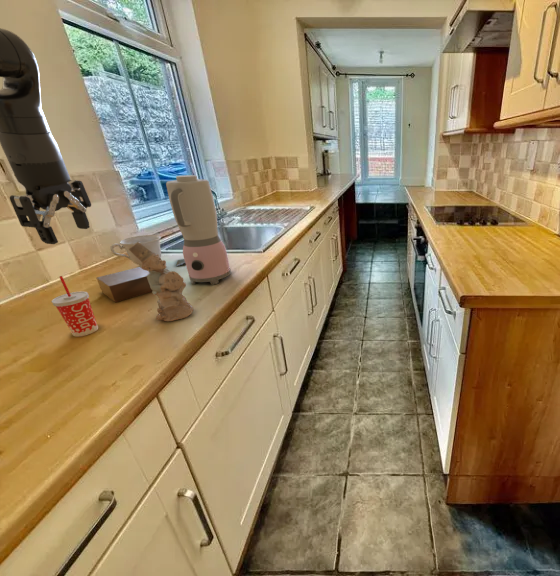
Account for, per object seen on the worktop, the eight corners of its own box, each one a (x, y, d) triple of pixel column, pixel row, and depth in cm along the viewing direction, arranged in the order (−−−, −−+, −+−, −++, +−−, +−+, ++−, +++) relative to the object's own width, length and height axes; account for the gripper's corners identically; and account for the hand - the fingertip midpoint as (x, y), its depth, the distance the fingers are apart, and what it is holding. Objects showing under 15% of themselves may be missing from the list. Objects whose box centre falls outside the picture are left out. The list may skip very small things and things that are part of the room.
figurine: (146, 322, 79) (118, 244, 71) (172, 306, 86) (149, 234, 78) (179, 324, 78) (154, 245, 69) (202, 308, 85) (182, 235, 77)
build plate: (176, 266, 115) (172, 254, 113) (178, 261, 121) (174, 249, 119) (214, 261, 120) (211, 249, 118) (214, 255, 126) (211, 244, 124)
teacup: (117, 267, 115) (107, 240, 110) (165, 258, 124) (157, 233, 120) (120, 276, 106) (110, 248, 102) (171, 266, 116) (163, 239, 111)
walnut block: (115, 302, 89) (109, 286, 87) (102, 293, 95) (96, 277, 93) (159, 289, 97) (154, 274, 95) (144, 281, 103) (139, 266, 101)
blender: (202, 271, 110) (177, 174, 97) (237, 271, 111) (217, 174, 97) (176, 290, 96) (143, 179, 83) (217, 289, 96) (190, 179, 83)
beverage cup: (68, 341, 71) (40, 284, 65) (68, 330, 75) (41, 276, 69) (103, 331, 75) (79, 276, 69) (101, 321, 79) (78, 269, 73)
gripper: (47, 148, 67) (76, 222, 75) (-27, 161, 55) (18, 247, 63) (85, 153, 67) (110, 225, 76) (21, 166, 55) (59, 251, 64)
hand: (68, 235), depth 69 cm, fingers open, 8 cm apart
